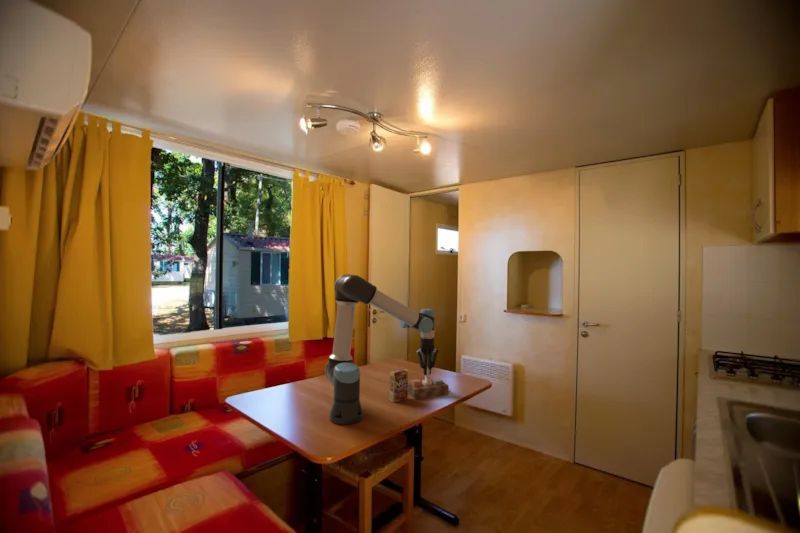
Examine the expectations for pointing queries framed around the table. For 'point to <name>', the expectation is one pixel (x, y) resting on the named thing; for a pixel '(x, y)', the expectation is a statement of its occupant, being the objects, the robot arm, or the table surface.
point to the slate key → (437, 381)
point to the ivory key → (426, 383)
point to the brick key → (416, 383)
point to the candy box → (398, 385)
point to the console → (428, 390)
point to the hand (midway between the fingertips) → (427, 380)
